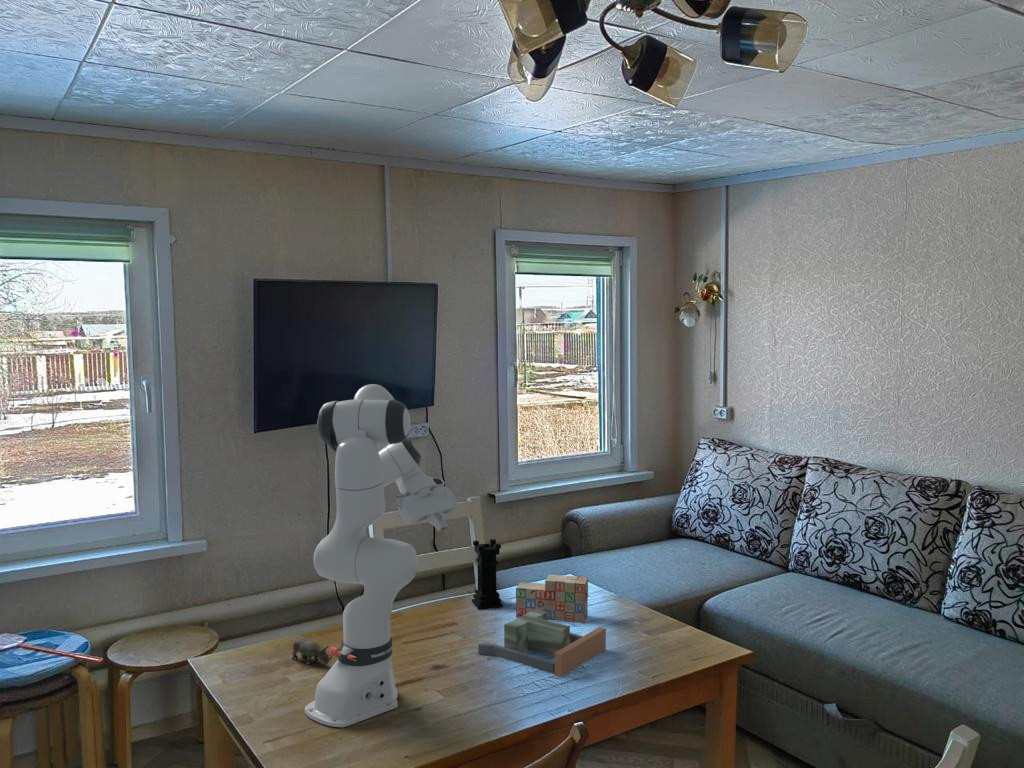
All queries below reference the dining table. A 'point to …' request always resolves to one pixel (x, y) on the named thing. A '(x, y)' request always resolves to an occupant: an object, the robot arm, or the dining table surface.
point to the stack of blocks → (555, 598)
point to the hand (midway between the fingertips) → (443, 528)
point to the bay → (556, 653)
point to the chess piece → (487, 575)
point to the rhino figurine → (310, 650)
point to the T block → (536, 634)
